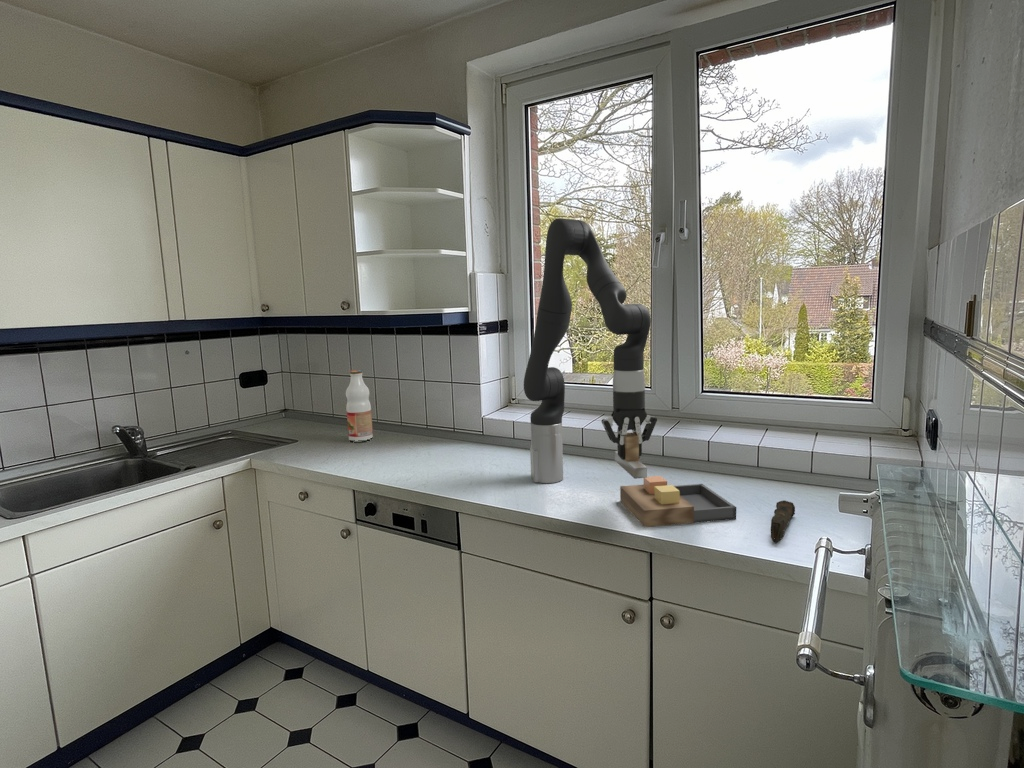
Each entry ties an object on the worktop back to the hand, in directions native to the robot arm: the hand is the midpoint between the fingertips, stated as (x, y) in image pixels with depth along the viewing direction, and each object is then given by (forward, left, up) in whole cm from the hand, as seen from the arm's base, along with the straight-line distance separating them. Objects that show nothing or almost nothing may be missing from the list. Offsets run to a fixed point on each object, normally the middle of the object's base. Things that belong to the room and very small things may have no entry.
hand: (629, 458), depth 141 cm
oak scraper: (0, 0, -3) cm, 3 cm away
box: (+18, 0, -14) cm, 23 cm away
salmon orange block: (+8, +4, -9) cm, 12 cm away
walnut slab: (+6, 0, -14) cm, 16 cm away
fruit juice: (-78, +99, -14) cm, 127 cm away
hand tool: (+30, -17, -15) cm, 37 cm away
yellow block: (+8, -4, -9) cm, 12 cm away
